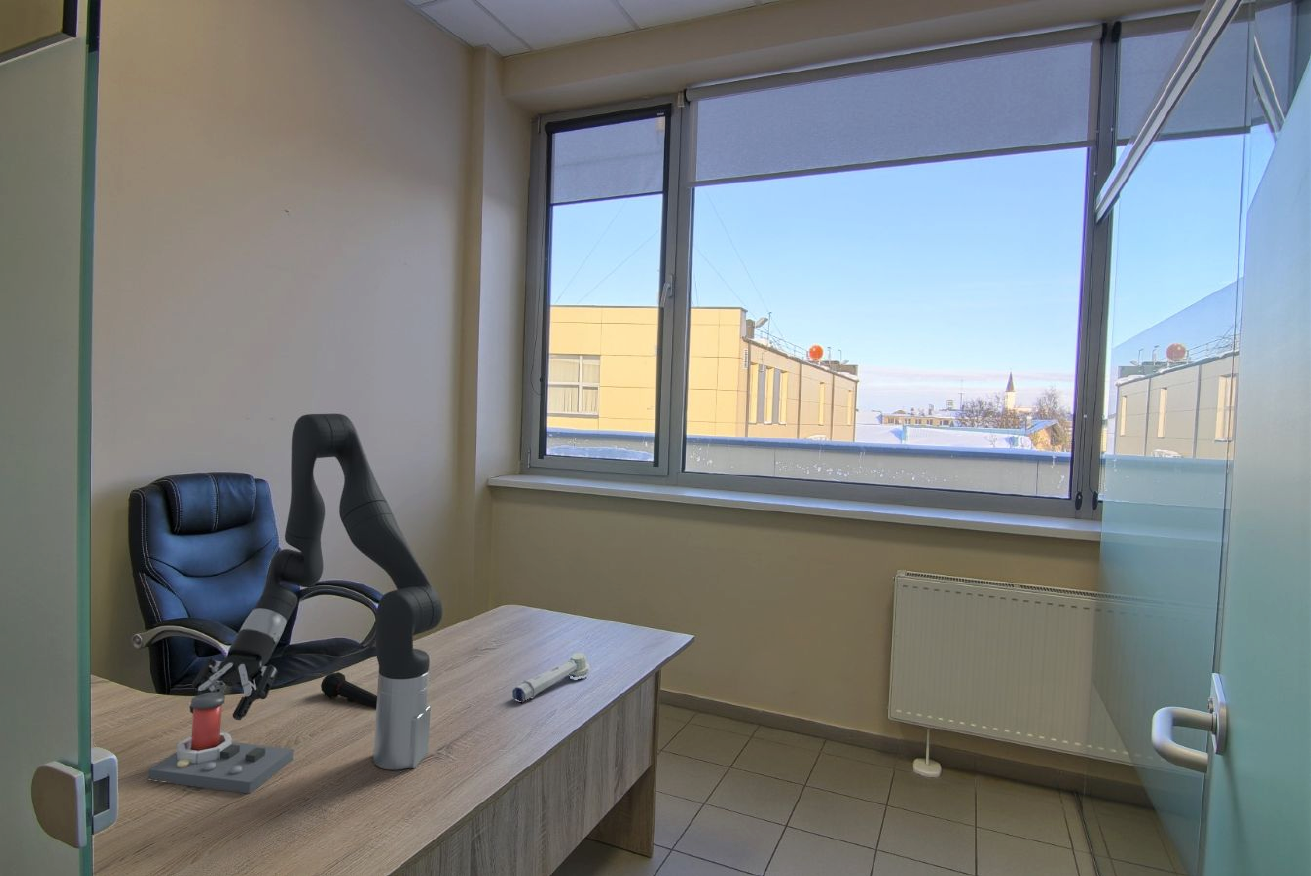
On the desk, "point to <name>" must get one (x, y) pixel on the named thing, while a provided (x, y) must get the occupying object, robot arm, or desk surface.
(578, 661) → the toothbrush head
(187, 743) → the grey control panel
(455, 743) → the desk surface
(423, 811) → the desk surface
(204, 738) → the cap
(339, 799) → the desk surface
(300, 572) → the robot arm
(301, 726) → the desk surface
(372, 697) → the microphone
